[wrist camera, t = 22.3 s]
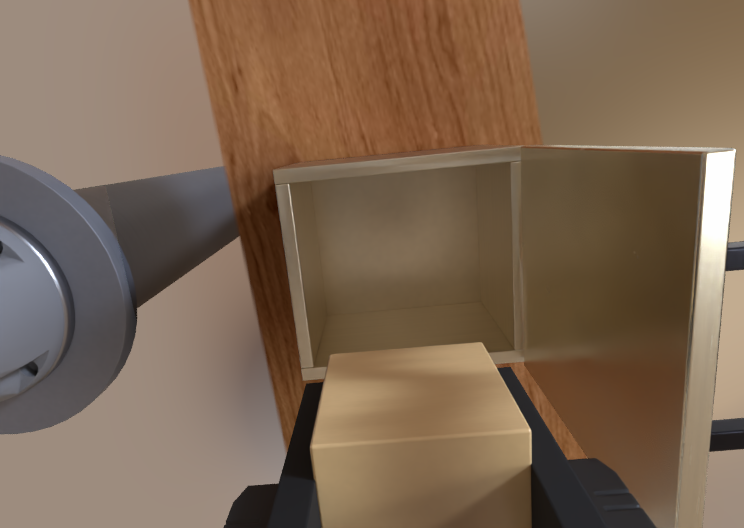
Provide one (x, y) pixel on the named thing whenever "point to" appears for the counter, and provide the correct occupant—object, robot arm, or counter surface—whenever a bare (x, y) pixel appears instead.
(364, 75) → the counter surface
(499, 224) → the open box
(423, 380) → the block
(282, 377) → the counter surface
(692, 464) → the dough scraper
